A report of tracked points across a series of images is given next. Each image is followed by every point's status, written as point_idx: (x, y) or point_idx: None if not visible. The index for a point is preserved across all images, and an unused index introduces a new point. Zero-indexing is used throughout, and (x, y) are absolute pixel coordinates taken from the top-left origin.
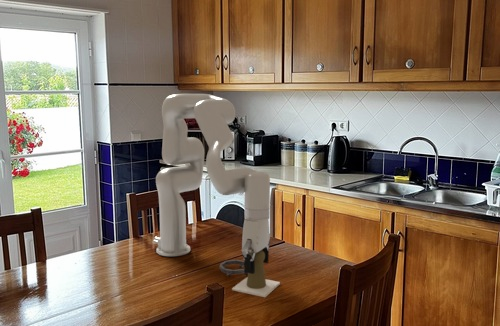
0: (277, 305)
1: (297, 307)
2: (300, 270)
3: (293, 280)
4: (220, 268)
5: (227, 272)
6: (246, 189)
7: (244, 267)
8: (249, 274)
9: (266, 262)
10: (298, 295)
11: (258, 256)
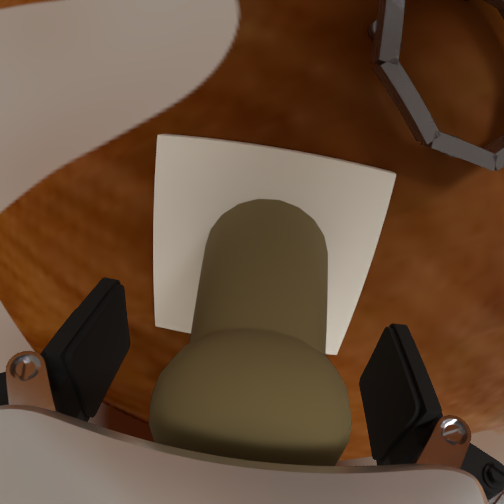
0: (123, 365)
1: (147, 410)
2: (481, 370)
3: None
4: None
5: (377, 22)
6: None
7: (87, 299)
8: (208, 266)
9: (362, 380)
10: None
11: None
